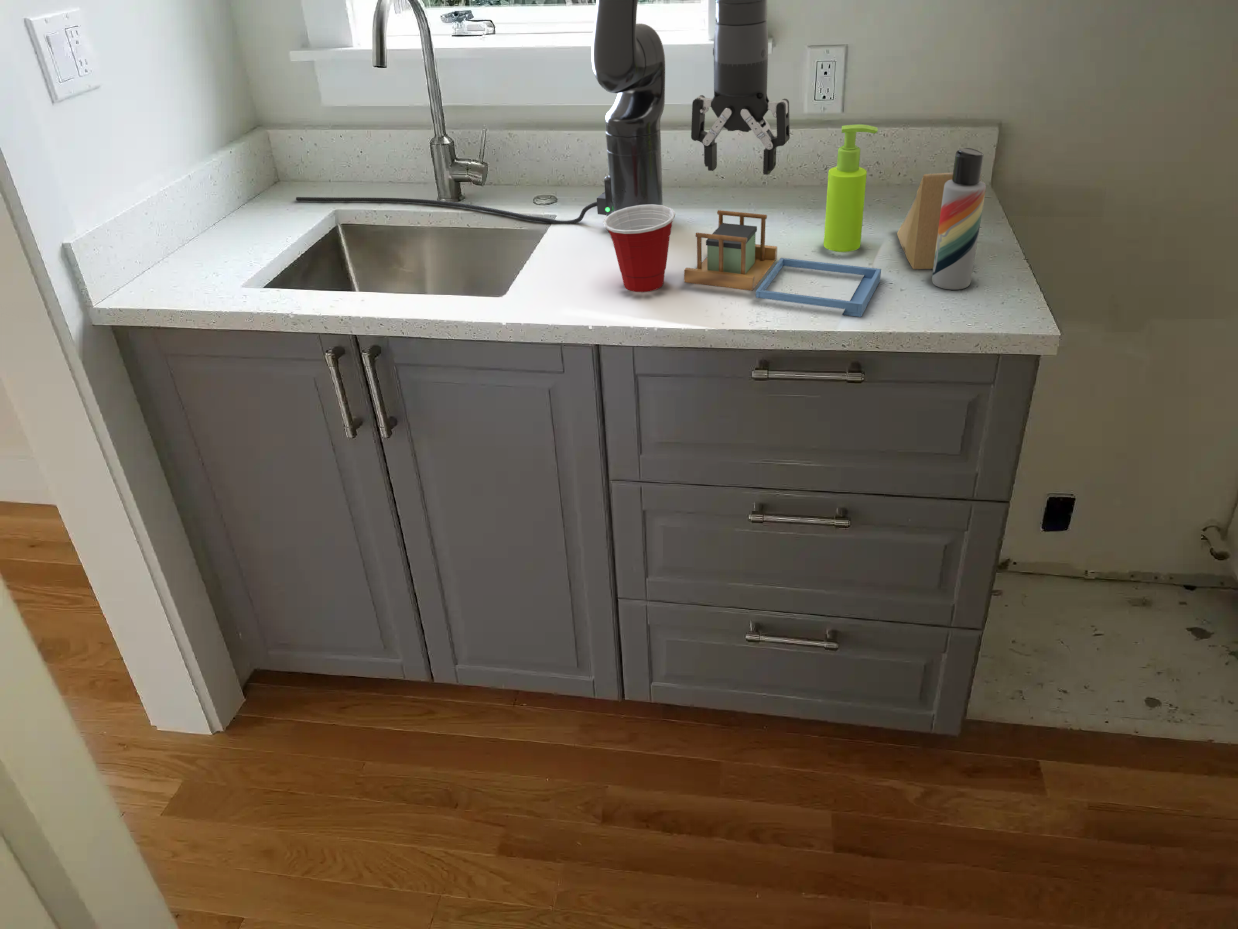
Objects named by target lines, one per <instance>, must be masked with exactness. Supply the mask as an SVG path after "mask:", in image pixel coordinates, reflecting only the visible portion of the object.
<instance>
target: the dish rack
mask: <svg viewBox="0 0 1238 929" xmlns="http://www.w3.org/2000/svg"><path fill="white" fill-rule="evenodd" d="M716 214H717V215H718V227H719V226H720V225H721V224H722V223H724V216H727V217H738V218H739V225H745V218H747V219H748V218H749V219H758V220H760V244H757V243H755V263H754V264H753V266H752V267H751V268H750V269H749V271H748V272H747V273H746V274H745V266H746V242H747V238H744V237H735V236H725V235H716V234H713V233H706V232H695V234H694V236H695V238H696V268H692V267H685V268H684V269H683V282H684V283H688V284H695V285H703V286H711V287H719V288H720V287H721V288H727V289H734V290H735V289H736V290H743V291H751V292H753V291H754V289H755V288H757V285H758V284H759V283H760V282H761V280H762V279H763V278H764V277H765V275H766V274H767V272H768V271H769V270H770V268H771V267H772V266H773V265H774V264H775V262H776V260H777V259H778V246H775V245H767V244H766V225H767V224H766V221H767V219H768V214H763V213H754V212H753V213H752V212H744V211H743V212H742V211H731V210H722V209H718V210H716ZM702 239H718V240H719V271H711V270H707V256H706V257H705V258H704V259H703V258H702V257H703V255H702V251H703V250H702V248H703V247H702V244H703V243H702ZM724 240H727V241H736V242H741V274H736V273H728V272H723V245H724ZM702 259H703V260H702Z"/></svg>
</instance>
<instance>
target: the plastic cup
mask: <svg viewBox="0 0 1238 929" xmlns="http://www.w3.org/2000/svg"><path fill="white" fill-rule="evenodd" d="M675 217H676V212H675V210H674V209H673V208H672V207H670V206H667V205H664V204H663V205H654V204H651V205H637V206H632V207H627V208H624V209H621V210H618V211H615V212H613V213H611V214H610V215H608V216H607V217H606V216H605V218H604V219H603V221H602V223H603V225H604V227H605V229H606V230H607V229H608V231H607V232H608V233H609V236H610V238H611V240H612V244H613V249H614V252H615V256H616V260H617V264H618V268H619V271H620V275H621V279H622V284H623V286H624V288H625V289H626V290H628V291H631V292H634V293H647V292H648V293H649V292H653V291H657V290H658V289H660V288H662V287H663V284H664V281H665V273H666V269H667V263H668V262H667V261H668V255H669V254H668V253H669V247H670V239H671V238H670V237H671V234H672V227H673V221H674V218H675Z"/></svg>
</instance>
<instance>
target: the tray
mask: <svg viewBox="0 0 1238 929" xmlns="http://www.w3.org/2000/svg"><path fill="white" fill-rule="evenodd" d="M783 267H793V268H801V269H808V270H817V271H826V272H834V273H835V272H836V273H844V274H852V275H861V276H862V278H861V280H860V281H859V284H858V285H857V287H856V289H855V291H854V292H853V294H852V296H851V297H850V299H849V300H842V299H836V298H829V297H822V296H812V295H806V294H805V295H804V294H798V293H790V292H789V293H788V292H780V291H774V290H773V291H772V290H767V289H768V287H769V286H770V285H771V283H772V281H773V280H774V279H775V278H776V276H777V275H778V274H779V272H780V271H781V270H782V268H783ZM881 275H882V268H875V267H868V266H859V265H851V264H841V263H840V264H839V263H832V262H831V263H830V262H824V261H823V262H822V261H815V260H814V261H813V260H805V259H795V258H786V257H780V258H779V260H778V261H777V262H776V264H775V265H774V266H773V268H771V270H770V272H769V273H768V274H767V275H766V277H765V278H764V279H763V281H762V282H761V284H760V285H759V286H758V288H756V291H755V298H756V299H757V298H758V299H765V300H771V301H781V302H789V303H795V304H804V305H811V306H812V305H813V306H818V307H819V306H820V307H825V308H826V307H829V308H835V309H843V312H842V314H841V315H842V316H851V317H857V318H858V317H860V318H861V317H862V316H863V314H864V312H865V310H866V309H867V306H868V305H869V303H870V301H871V299H872V297H873V296H874V293H875V291H876V289H877V287H878V286H879V284H880V282H881Z"/></svg>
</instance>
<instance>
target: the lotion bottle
mask: <svg viewBox="0 0 1238 929" xmlns="http://www.w3.org/2000/svg"><path fill="white" fill-rule="evenodd" d="M984 157H985V153H983V152H982V151H980V150H978V149H975V148H971V147H961V148H958V149H957V151H955V154H954V162H953V168H952V169H953V170H952V173H953V176H952V179H951V180H949V181H947V182H946V183H945V185H944V191H943V198H942V206H941V213H940V221H939V228H938V236H937V243H936V251H935V258H934V266H933V269H932V273H931V274H932V275H931V282H932V283H933V285H934V286H936V287H937V288H940V289H945V290H953V291H954V290H962V289H965V288H968V287H969V286H970V285H971V282H972V278H973V272H974V266H975V259H976V254H977V247H978V241H979V235H980V228H981V223H982V215H983V209H984V203H985V198H986V197H985V196H986V189H987V185H986V183H985V182H984V181H982V180H980V177H981V178H982V169H983V164H984Z"/></svg>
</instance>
